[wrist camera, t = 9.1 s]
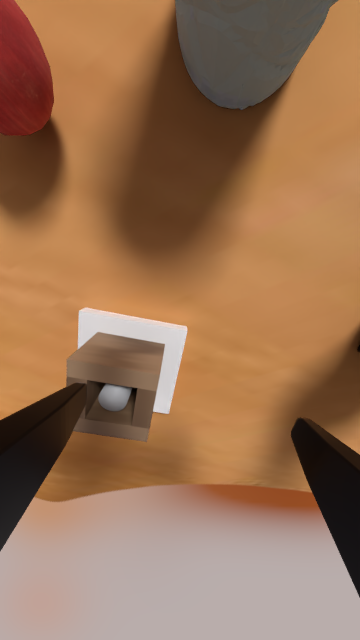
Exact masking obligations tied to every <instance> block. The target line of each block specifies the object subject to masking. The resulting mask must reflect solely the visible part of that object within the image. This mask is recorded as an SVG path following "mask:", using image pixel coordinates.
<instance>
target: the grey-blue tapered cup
mask: <svg viewBox="0 0 360 640" xmlns="http://www.w3.org/2000/svg"><path fill="white" fill-rule="evenodd" d="M337 1H338V0H175V6H176V20H177V30H178V38H179V44H180V48H181V53H182V56H183V60H184V63H185V66H186V69H187V71H188V73H189V75H190V77H191V79H192V81H193V82H194V84H195V85H196V87H197V88H198V89H199V91H200V92H201V93H202V94H203V95H204V96H206V97H207V98H208V99H209V100H211V101H212V102H213V103H215V104H216V105H218V106H221V107H226V108H231V109H236V108H239V109H240V110H242V109H245V108H247V107H248V106H249V105H250V106H254V105H255V104H257V103H261V102H262V101H263V100H264V99H266V98H267V97H269V96H270V95H272V94H273V93H274V92H275V91H276V90H277V89H278V88H280V87H281V85H282V84H283V83H284V82H285V81H286V80H287V78H288V77H289V76H290V74H291V73H292V72H293V70H294V69H295V67H296V65H297V64H298V62H299V61H300V59H301V58H302V56H303V55H304V53H305V52H306V50H307V48H308V46H309V45H310V43H311V42H312V40H313V39H314V38H315V36H316V35H317V33H318V32H319V30H320V29H321V27H322V25H323V24H324V21H325V19H326V16H327V14H328V11H329V8H330V7H331V6H332V5H333V4H334V3H336V2H337Z"/></svg>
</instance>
